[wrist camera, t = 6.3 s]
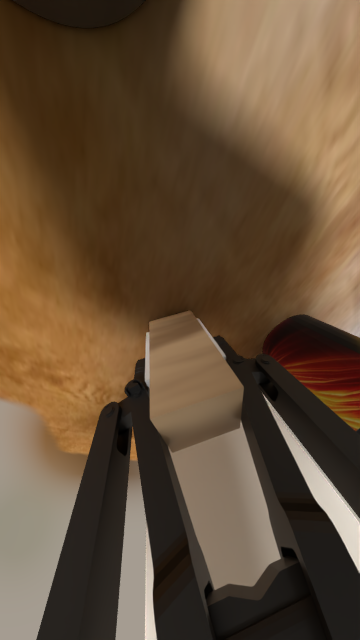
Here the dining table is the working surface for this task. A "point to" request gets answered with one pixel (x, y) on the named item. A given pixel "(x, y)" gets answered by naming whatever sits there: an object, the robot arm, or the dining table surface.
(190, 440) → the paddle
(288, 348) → the mug
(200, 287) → the dining table surface
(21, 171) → the dining table surface
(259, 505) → the cabinet
